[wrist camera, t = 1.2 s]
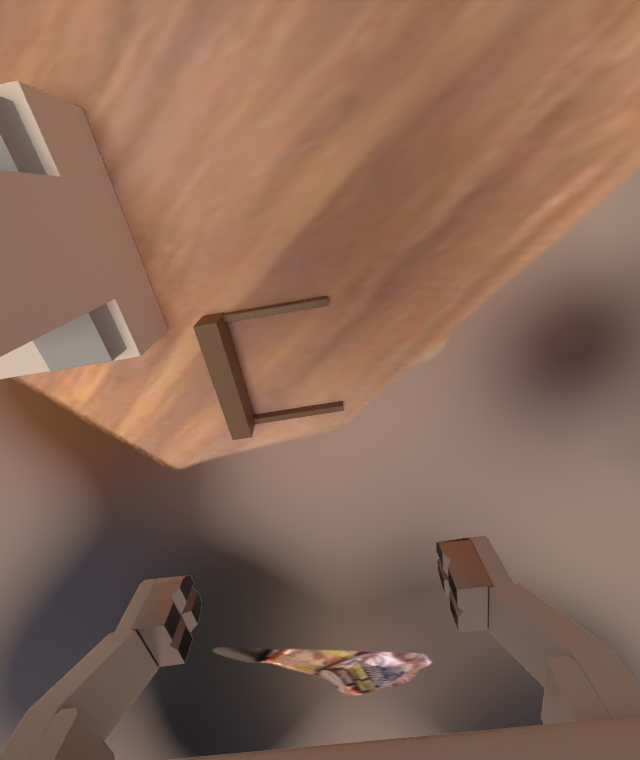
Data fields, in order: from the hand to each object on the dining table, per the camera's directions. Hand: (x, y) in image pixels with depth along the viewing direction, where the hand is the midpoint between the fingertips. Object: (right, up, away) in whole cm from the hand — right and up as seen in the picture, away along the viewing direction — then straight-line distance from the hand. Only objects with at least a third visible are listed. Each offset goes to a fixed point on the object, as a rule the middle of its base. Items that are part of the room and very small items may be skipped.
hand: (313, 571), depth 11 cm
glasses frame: (-5, +8, +33) cm, 35 cm away
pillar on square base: (-30, +20, +26) cm, 45 cm away
